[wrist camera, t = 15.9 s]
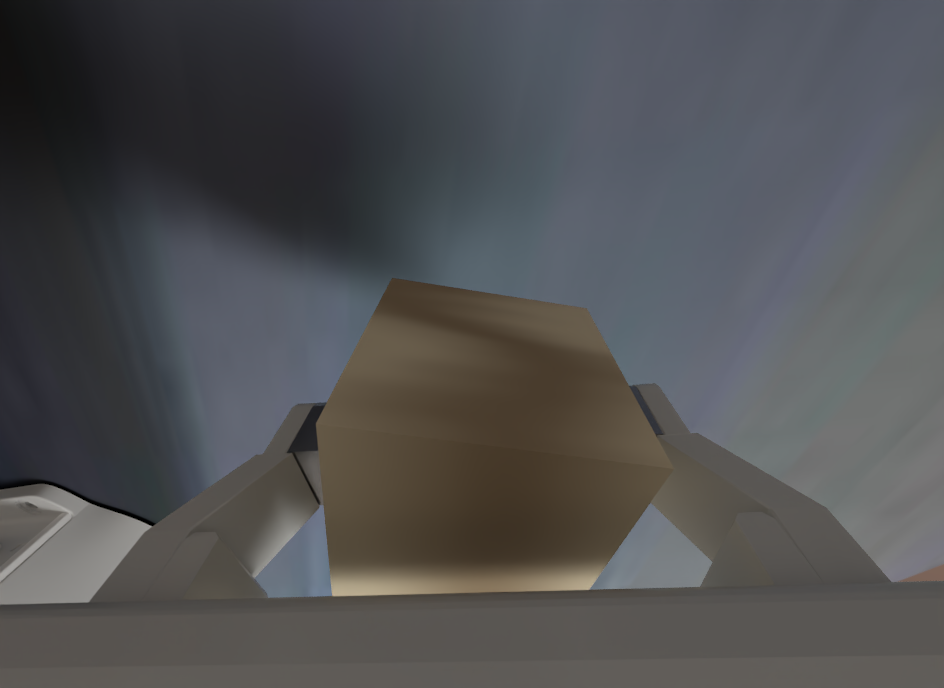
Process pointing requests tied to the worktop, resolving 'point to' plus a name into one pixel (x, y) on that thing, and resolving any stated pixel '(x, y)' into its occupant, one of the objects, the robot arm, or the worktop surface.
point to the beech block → (480, 448)
